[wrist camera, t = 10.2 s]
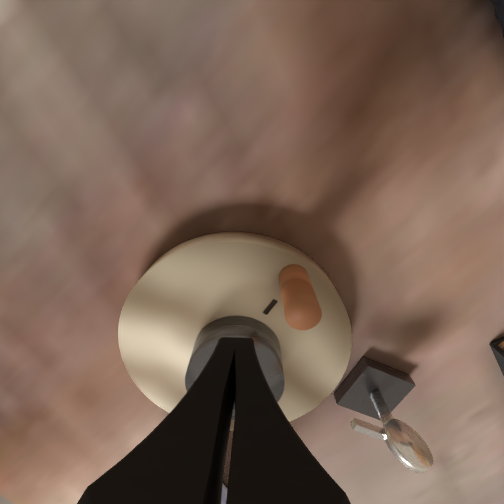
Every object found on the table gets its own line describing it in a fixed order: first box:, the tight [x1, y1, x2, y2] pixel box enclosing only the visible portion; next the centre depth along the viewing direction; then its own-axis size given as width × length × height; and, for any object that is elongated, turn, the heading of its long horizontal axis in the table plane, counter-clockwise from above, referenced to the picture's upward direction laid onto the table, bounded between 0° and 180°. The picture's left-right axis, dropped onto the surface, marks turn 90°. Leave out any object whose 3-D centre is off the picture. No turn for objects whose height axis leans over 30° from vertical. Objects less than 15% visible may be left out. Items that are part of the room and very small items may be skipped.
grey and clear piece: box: [334, 356, 433, 473], centre depth 20 cm, size 6×4×7 cm
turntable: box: [118, 232, 352, 431], centre depth 19 cm, size 16×16×6 cm
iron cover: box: [185, 315, 285, 420], centre depth 18 cm, size 6×6×3 cm
